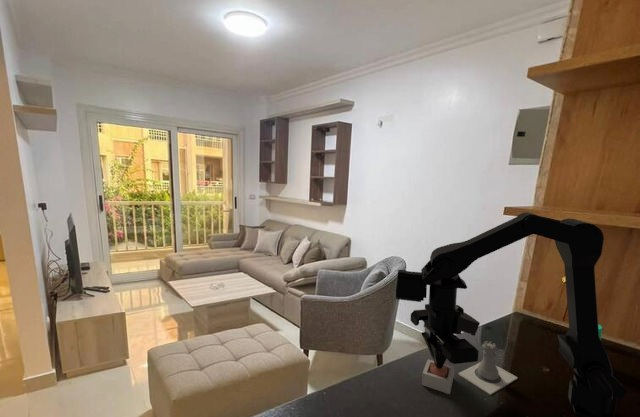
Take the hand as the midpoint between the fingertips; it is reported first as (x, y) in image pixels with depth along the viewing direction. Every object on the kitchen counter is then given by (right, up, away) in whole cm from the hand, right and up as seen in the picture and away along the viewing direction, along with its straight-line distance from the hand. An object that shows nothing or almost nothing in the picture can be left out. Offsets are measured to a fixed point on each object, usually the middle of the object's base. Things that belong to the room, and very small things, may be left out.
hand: (438, 367), depth 72 cm
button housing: (0, -4, 0) cm, 4 cm away
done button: (0, -2, 0) cm, 2 cm away
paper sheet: (+13, -3, +2) cm, 13 cm away
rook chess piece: (+13, -3, +2) cm, 13 cm away
